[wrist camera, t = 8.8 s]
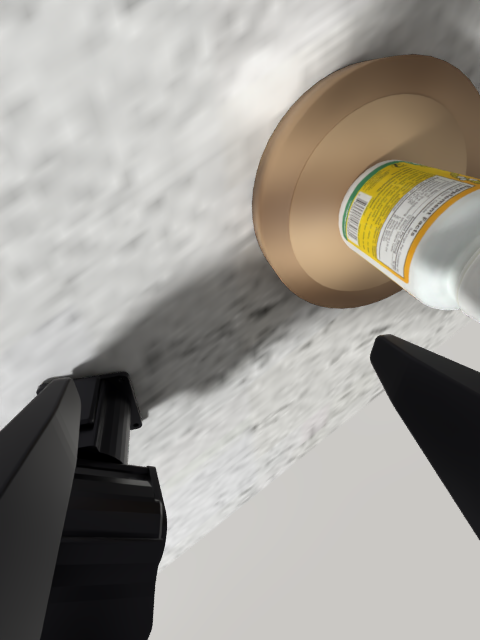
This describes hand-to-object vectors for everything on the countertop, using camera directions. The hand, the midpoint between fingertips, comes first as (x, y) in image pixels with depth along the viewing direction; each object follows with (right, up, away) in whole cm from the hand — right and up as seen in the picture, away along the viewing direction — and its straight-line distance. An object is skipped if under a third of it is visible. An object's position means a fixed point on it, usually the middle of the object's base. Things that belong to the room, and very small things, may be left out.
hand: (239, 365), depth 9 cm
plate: (+8, +9, +11) cm, 17 cm away
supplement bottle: (+8, +8, +9) cm, 15 cm away
